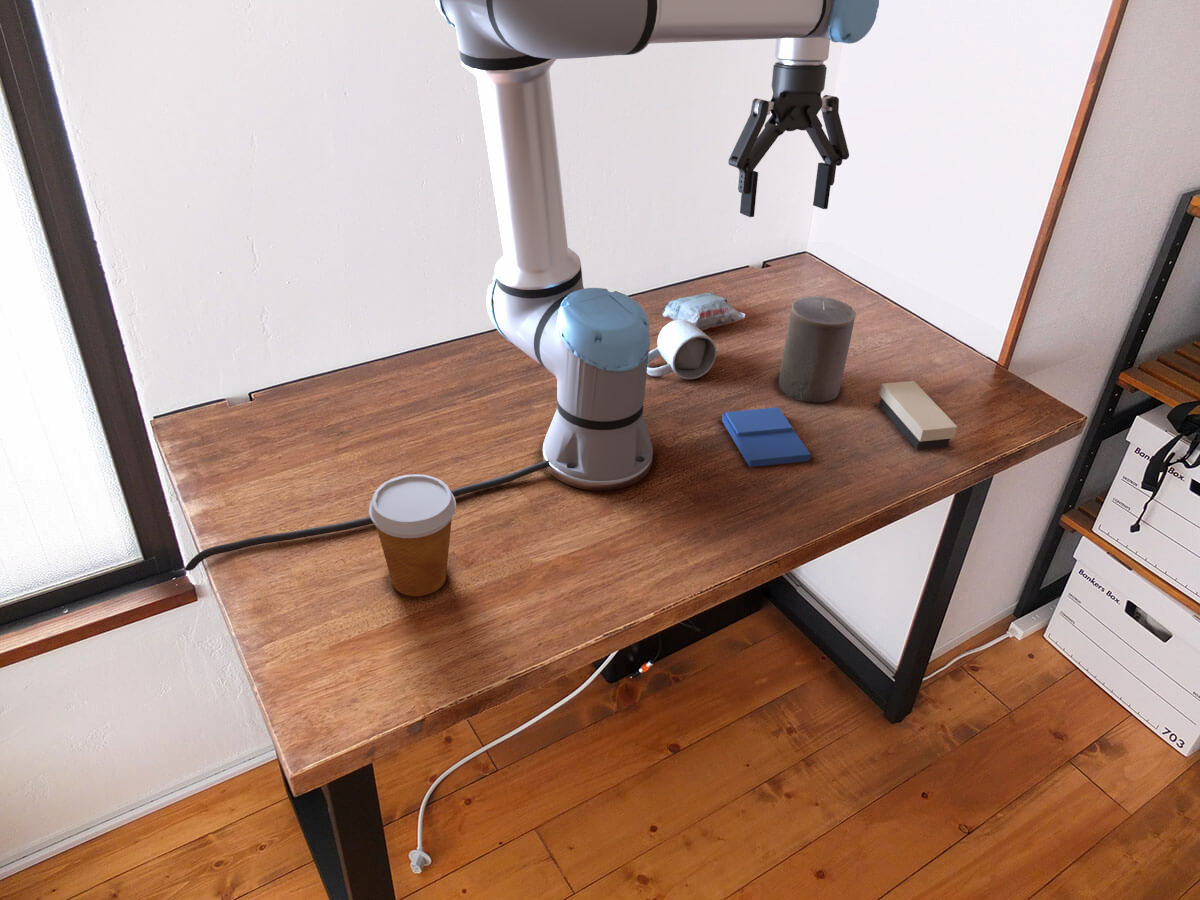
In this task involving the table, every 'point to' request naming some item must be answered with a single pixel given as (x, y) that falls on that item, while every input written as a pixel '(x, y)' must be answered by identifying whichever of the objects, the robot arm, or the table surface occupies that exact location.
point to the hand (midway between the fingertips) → (784, 211)
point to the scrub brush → (916, 415)
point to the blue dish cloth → (765, 437)
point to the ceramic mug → (683, 350)
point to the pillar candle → (816, 348)
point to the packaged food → (703, 311)
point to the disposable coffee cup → (414, 531)
